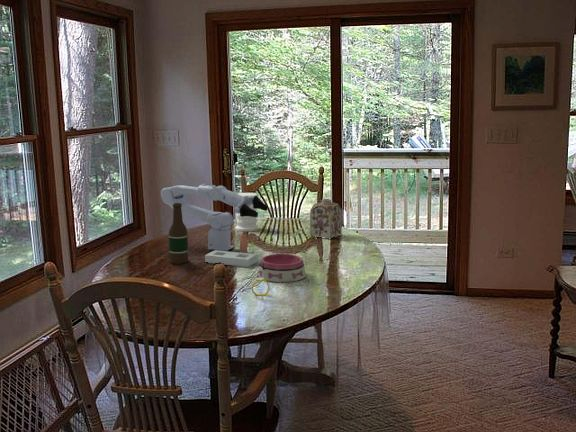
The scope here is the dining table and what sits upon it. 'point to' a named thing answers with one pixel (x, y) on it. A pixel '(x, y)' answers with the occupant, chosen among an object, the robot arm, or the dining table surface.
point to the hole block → (231, 258)
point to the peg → (243, 243)
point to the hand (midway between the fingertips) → (262, 211)
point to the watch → (260, 281)
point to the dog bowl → (282, 268)
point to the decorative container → (247, 218)
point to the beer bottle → (178, 237)
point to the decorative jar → (325, 219)
